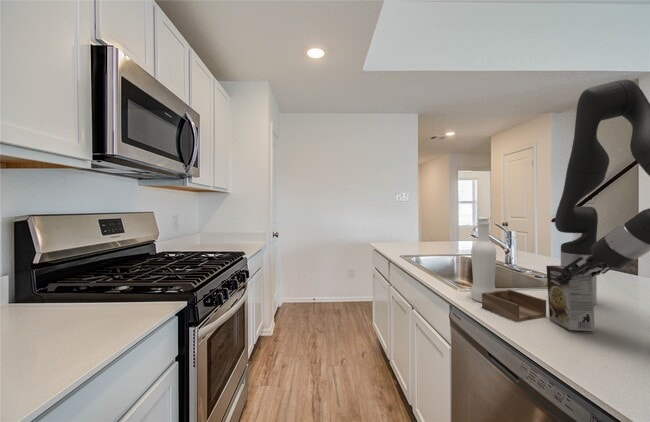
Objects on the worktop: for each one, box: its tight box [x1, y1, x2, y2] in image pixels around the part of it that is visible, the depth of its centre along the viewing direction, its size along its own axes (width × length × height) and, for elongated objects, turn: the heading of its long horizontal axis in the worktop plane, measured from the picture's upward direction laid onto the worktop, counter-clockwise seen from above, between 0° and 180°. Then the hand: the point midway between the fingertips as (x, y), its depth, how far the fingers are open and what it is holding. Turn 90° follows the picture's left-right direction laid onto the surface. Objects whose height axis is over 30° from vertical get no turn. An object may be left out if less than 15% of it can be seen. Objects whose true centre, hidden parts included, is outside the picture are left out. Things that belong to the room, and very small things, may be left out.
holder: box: [481, 288, 547, 323], centre depth 94 cm, size 12×12×5 cm
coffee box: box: [546, 265, 596, 332], centre depth 83 cm, size 9×6×16 cm
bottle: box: [470, 216, 497, 304], centre depth 106 cm, size 8×8×30 cm
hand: (569, 280), depth 82 cm, fingers closed on coffee box, 8 cm apart
